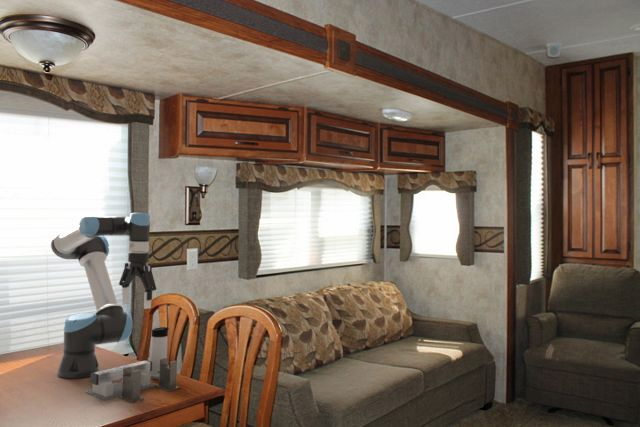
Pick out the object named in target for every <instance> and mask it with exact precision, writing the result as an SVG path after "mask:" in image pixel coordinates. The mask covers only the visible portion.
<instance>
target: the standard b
mask: <svg viewBox="0 0 640 427" xmlns="http://www.w3.org/2000/svg"><path fill="white" fill-rule="evenodd" d="M177 372H178V360H172V361H169V357H167V358H164V359H160V375H159V379H158V382H159V383H158V384H157V385H156V386H154V387H155V388H157V389H160V390H161V391H166V392H168V393H169V392H173V391H177V390H179V389H181V387H180V386H178V385H177V374H178V373H177Z"/></svg>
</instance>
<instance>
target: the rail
mask: <svg viewBox="0 0 640 427" xmlns="http://www.w3.org/2000/svg"><path fill="white" fill-rule="evenodd" d="M130 366H131V367H132V371H136V370H141V374H142V373H145V372H148V373H150V371H152V361H151V360H148V359H145V360H142V361H141V360H140V361H136V362H132V363H130V364H128V363H127V364H124V365H121V366H115V367H112V368H108V369H103V370H99V371H98V372H94V373H93V372H92V373H91V376H90V380H89V381H90V384H92V385H93V384H94V385H99V384H103V383H106V382H113V381H118V380H121V379H122V380H123V368H126V367H130Z"/></svg>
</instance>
